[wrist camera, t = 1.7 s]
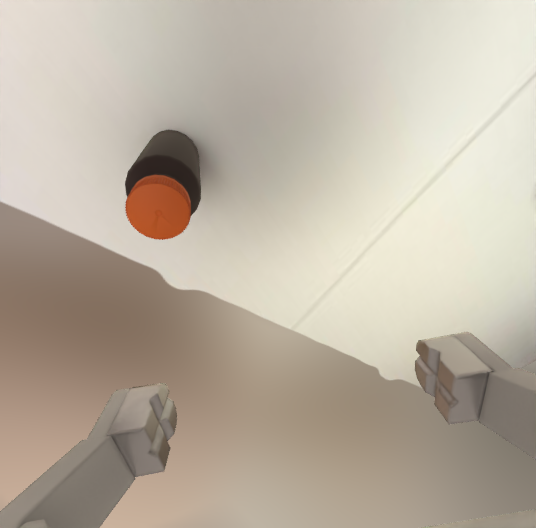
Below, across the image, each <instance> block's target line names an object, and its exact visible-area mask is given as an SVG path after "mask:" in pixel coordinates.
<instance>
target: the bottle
mask: <svg viewBox="0 0 536 528" xmlns="http://www.w3.org/2000/svg"><path fill="white" fill-rule="evenodd" d="M125 186H126V195H127V200H126V205H125V206H126V207H125V208H126V210H125V211H126V213H127V215H126V216H128V217H127V218H129V220H130V223H131V225H133V227H135V229H136V230H137V231H139V233H141V234H144V235H145V236H146V237H149V238H150V237H151V238H154V239H159V240H160V239H162V240H163V239H168V238H173V237H175V236H177V235H178V234H180V233H181V232H183V230H185V228H186V226H187V225H188V224H189V220H190V216H191V215H192V214H193V213H194V212H195V211H196V209H197V207H198V205H199V202H200V199H201V183H200V166H199V155H198V151H197V148H196V146H195V145H194V143H193V142H192V140H191V139H189V138H188V137H187V136H186V135H184V134H182V133H180V132H178V131H173V130H166V131H161V132H159V133H158V134H156V135H154V136H153V138H152V139H151V140H150V142H149V143H148V144H147V146H146V147H145V149H144V150H143V151H142V153H141V154H140V156H139V157H138V158H137V160H136V161H135V163H134V164H133V165H132V167H131V168H130V170H129V171H128V174H127V178H126V182H125ZM129 220H128V221H129Z"/></svg>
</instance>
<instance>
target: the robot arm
mask: <svg viewBox="0 0 536 528" xmlns="http://www.w3.org/2000/svg"><path fill="white" fill-rule="evenodd" d="M416 351H417V352H418V353H419V355H420V356H419V357H418V359H417V360H416V361H415V371H416V375H417V379H418V381H419V383H420V385H421V386H422V388H423V389H424V391H425V392H426V393H428V394H430V395H432V396H434V397H435V403H434V404H435V406H436V407H437V409H438V410H439V411H440V413H441V414H442V415H443V417H444V418H445V420H446V421H447V422H448V424H455V423H463V422H469V421H478V420H479V422H480V423H481V424H483V425H484V426H486V427H487V428H489V429H490V430H492V431H493V432H495V433H496V434H498V435H499V436H501V437H502V438H504V439H505V440H507V441H509V442H510V443H511V444H513V445H515V446H516V447H517V448H519V449H520V450H522V451H523V452H525V453H526V454H528V455H529V456H531V457H532V458H534V459H536V374H533V373H531V372H528V371H526V370H523V369H520V368H515V369H513V368H512V367H511V366H510V365H509V364H507V363H506V362H505V361H504V360H503V359H501V358H500V357H499V356H498V355H497V354H495V353H494V352H493V351H492V350H491V349H489V348H488V347H487V346H486V345H485V344H483V343H482V342H481V341H480V340H479V339H477V338H476V337H475V336H474V335H473V334H471V333H469V332H463V333H457V334H452V335H447V336H441V337H435V338H430V339H424V340H419V341H418V343H417V346H416ZM168 394H169V390H168V388H167V385H166V384H163V383H160V384H153V385H147V386H139V387H133V388H128V389H120V390H116V391H115V392H114V393H113V394H112V395H111V397H110V399H109V401H108V403H107V404H106V406H105V408H104V410H103V411H102V413H101V415H100V417H99V419H98V420H97V422H96V424H95V426H94V428H93V429H92V431H91V433H90V435H89V436H88V438H87V440H82V441H80V442H79V443H78V444H77V445H76V446H75V447H73V448H72V449H71V450H70V451H69V452H68V453H67V454H65V455H64V456H63V457H62V458H61V459H60V460H59V461H57V462H56V463H55V464H54V465H53V466H52V467H50V468H49V469H48V470H47V471H46V472H45V473H44V474H42V475H41V476H40V477H39V478H38V479H37V480H36V481H34V482H33V483H32V484H31V485H30V486H29V487H28V488H26V490H24V491H23V492H22V493H21V494H19V495H18V496H17V497H16V498H15V499H14V500H13V501H11V502H10V503H9V504H8V505H7V506H6V507H5V508H3V509H2V510H1V511H0V528H99V527H100V526H101V525H102V523H103V522H104V520H105V519H106V518H107V517H108V515H109V514H110V512H111V511H112V510H113V508H114V507H115V506H116V504H117V503H118V502H119V500H120V499H121V498H122V496H123V495H124V494H125V492H126V491H127V490H128V488H129V487H130V485H131V484H132V483H133V481H134V480H135V477H138V476H143V475H148V474H153V473H158V472H163V471H164V470H165V466H166V463H167V459H168V455H169V451H170V446H169V444H168V440H169V439H170V438H171V437H172V435H173V434H174V432H175V428H176V422H177V413H176V407H175V404H174V402H173V401H172V400H170V399H169V398H167V397H168ZM423 528H536V509H533V510H527V511H521V512H515V513H509V514H503V515H496V516H491V517H484V518H478V519H472V520H466V521H460V522H453V523H447V524H441V525H435V526H429V527H423Z"/></svg>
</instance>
